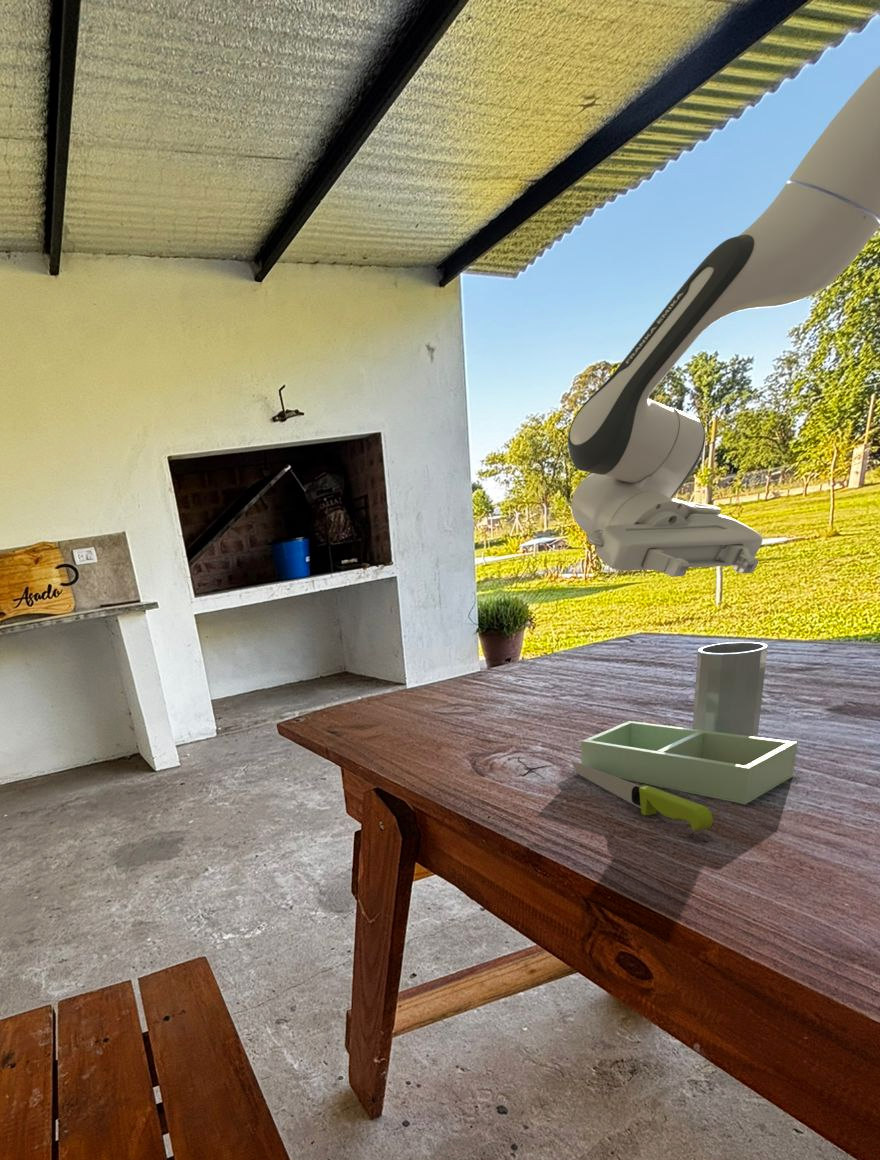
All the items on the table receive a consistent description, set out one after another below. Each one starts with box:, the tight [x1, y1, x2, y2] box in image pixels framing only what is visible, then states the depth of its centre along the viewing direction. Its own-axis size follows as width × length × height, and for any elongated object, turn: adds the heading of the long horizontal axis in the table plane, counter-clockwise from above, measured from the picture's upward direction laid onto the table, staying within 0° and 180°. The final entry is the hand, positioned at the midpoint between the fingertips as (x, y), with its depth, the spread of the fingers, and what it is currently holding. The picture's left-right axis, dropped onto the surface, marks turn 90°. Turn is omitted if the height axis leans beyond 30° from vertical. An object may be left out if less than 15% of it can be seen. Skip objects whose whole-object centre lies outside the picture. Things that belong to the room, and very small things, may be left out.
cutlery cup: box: [692, 641, 768, 737], centre depth 72 cm, size 6×6×12 cm
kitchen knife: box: [570, 760, 714, 832], centre depth 64 cm, size 22×1×3 cm, turn 5°
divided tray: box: [580, 720, 798, 805], centre depth 68 cm, size 9×18×4 cm, turn 30°
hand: (716, 569), depth 75 cm, fingers open, 8 cm apart
